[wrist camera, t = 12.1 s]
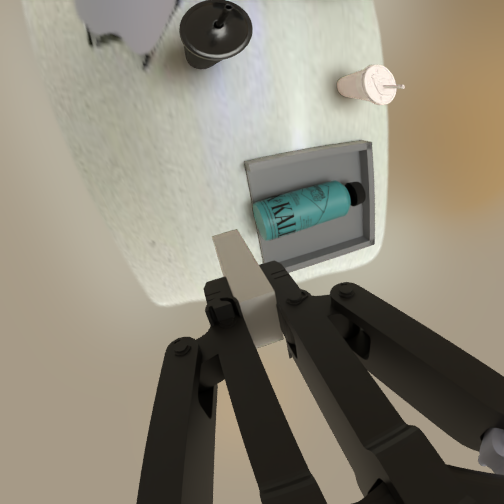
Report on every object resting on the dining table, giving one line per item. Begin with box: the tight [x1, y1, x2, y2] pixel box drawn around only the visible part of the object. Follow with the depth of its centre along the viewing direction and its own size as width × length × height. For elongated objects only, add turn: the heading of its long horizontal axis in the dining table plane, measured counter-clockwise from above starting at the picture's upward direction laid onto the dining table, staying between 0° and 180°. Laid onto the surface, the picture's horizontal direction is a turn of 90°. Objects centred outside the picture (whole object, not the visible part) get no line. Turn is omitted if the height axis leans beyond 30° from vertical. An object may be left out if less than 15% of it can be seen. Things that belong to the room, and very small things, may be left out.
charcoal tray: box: [244, 140, 375, 273], centre depth 49 cm, size 20×22×3 cm
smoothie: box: [337, 65, 405, 105], centre depth 36 cm, size 6×6×14 cm
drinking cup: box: [179, 0, 252, 69], centre depth 26 cm, size 8×8×20 cm
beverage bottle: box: [253, 180, 366, 241], centre depth 46 cm, size 6×7×20 cm
